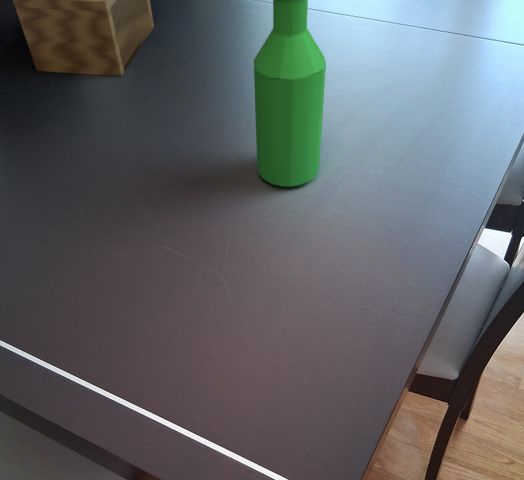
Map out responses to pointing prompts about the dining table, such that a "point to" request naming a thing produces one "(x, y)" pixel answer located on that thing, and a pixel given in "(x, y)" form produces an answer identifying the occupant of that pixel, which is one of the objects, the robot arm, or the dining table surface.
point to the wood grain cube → (85, 34)
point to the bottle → (289, 98)
